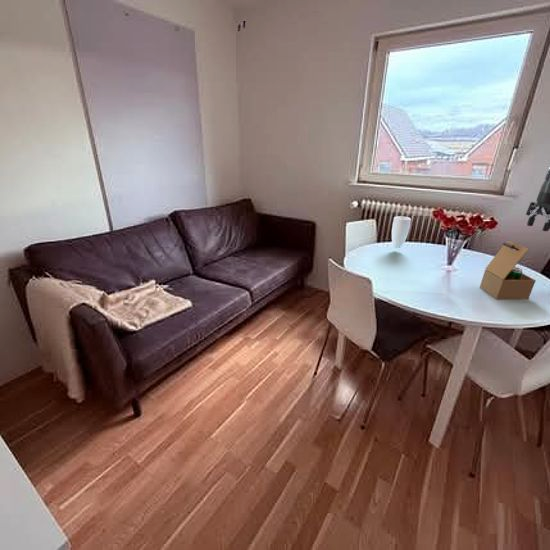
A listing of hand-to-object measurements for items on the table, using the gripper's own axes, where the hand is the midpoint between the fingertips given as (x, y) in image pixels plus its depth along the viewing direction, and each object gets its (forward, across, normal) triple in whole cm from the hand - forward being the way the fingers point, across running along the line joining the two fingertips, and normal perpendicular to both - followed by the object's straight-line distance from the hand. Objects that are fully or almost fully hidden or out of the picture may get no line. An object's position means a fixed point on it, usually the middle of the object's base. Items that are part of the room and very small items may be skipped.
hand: (537, 228), depth 139 cm
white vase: (+30, +52, +38) cm, 71 cm away
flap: (+13, -5, +14) cm, 20 cm away
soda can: (+30, -5, +7) cm, 31 cm away
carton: (+30, -5, +9) cm, 32 cm away
